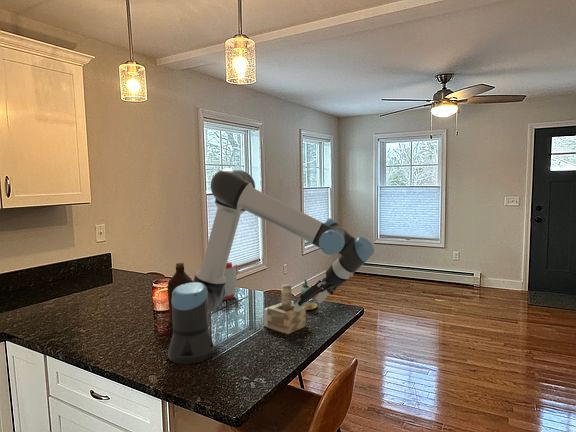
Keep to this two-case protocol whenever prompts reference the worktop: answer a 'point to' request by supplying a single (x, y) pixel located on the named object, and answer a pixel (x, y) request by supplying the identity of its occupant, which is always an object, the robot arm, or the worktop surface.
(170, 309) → the olive oil
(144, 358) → the worktop surface
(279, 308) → the block
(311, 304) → the green yellow irregular piece
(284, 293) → the dowel
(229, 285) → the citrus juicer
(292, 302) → the backstop
